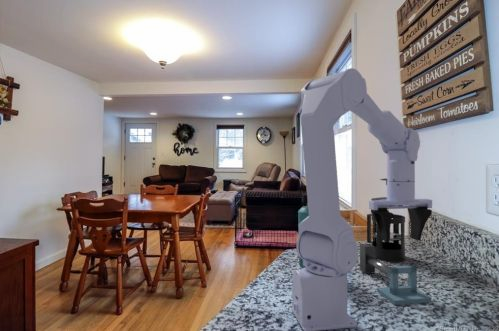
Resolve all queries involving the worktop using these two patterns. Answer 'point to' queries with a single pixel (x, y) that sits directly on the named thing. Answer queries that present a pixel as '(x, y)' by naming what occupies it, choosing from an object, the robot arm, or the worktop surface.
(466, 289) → the worktop surface
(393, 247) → the french press
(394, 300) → the eye bracket
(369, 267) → the hook rod
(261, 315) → the worktop surface
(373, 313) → the worktop surface
